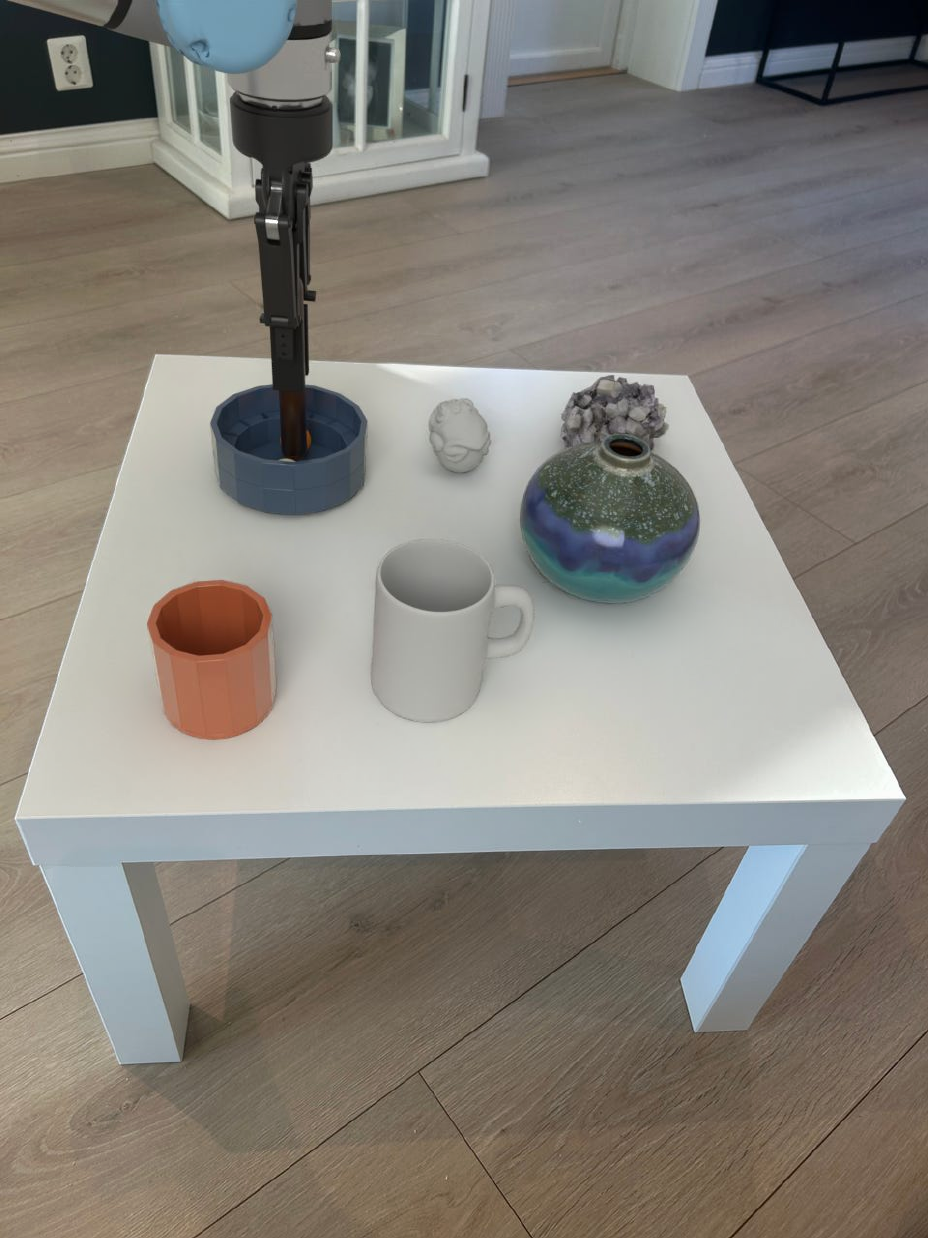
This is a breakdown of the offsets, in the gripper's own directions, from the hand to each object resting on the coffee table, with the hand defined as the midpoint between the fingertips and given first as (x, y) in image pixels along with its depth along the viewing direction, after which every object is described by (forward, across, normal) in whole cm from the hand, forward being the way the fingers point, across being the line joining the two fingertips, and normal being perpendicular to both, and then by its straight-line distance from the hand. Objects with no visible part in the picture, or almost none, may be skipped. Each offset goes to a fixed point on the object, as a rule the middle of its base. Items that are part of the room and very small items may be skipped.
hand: (291, 380), depth 87 cm
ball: (+8, +3, 0) cm, 9 cm away
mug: (+10, -26, -16) cm, 32 cm away
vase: (+10, -11, -29) cm, 33 cm away
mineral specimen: (+11, +10, -32) cm, 35 cm away
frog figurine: (+10, +4, -16) cm, 19 cm away
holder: (+10, -30, +1) cm, 31 cm away
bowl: (+10, 0, 0) cm, 10 cm away
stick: (+8, 0, 0) cm, 8 cm away
